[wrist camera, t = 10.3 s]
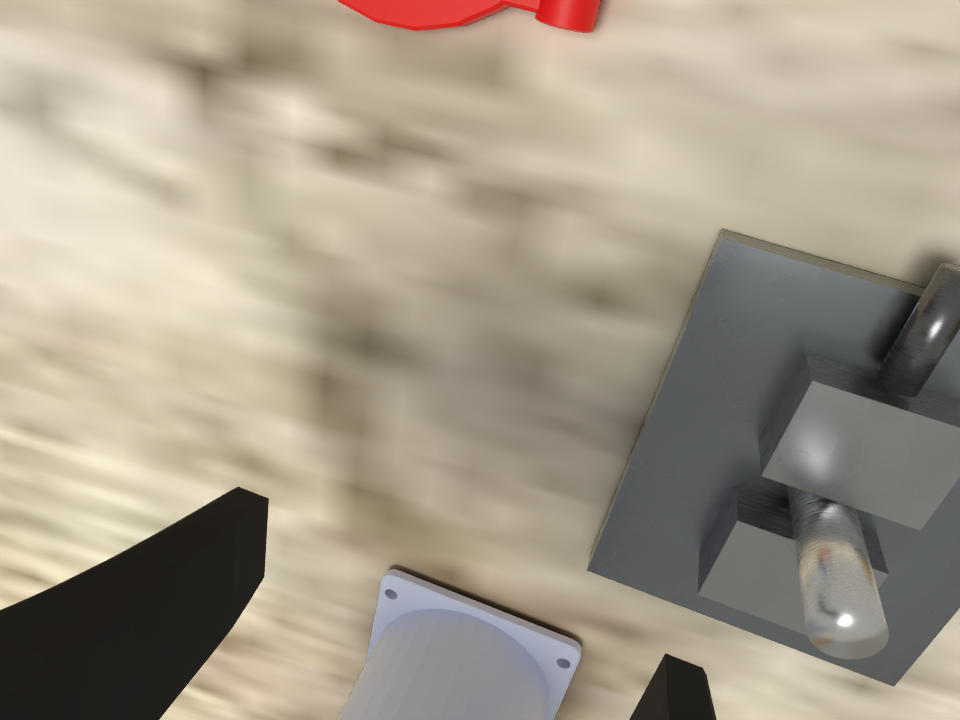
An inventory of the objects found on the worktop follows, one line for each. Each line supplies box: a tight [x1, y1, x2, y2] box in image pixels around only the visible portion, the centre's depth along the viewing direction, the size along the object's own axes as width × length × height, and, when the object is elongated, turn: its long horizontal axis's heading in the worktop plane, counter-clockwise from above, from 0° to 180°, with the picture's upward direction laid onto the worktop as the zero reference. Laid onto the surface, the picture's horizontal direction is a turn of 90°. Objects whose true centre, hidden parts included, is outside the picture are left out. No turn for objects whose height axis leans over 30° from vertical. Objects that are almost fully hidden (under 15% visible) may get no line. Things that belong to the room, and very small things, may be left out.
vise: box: [587, 229, 960, 686], centre depth 17 cm, size 13×10×6 cm
